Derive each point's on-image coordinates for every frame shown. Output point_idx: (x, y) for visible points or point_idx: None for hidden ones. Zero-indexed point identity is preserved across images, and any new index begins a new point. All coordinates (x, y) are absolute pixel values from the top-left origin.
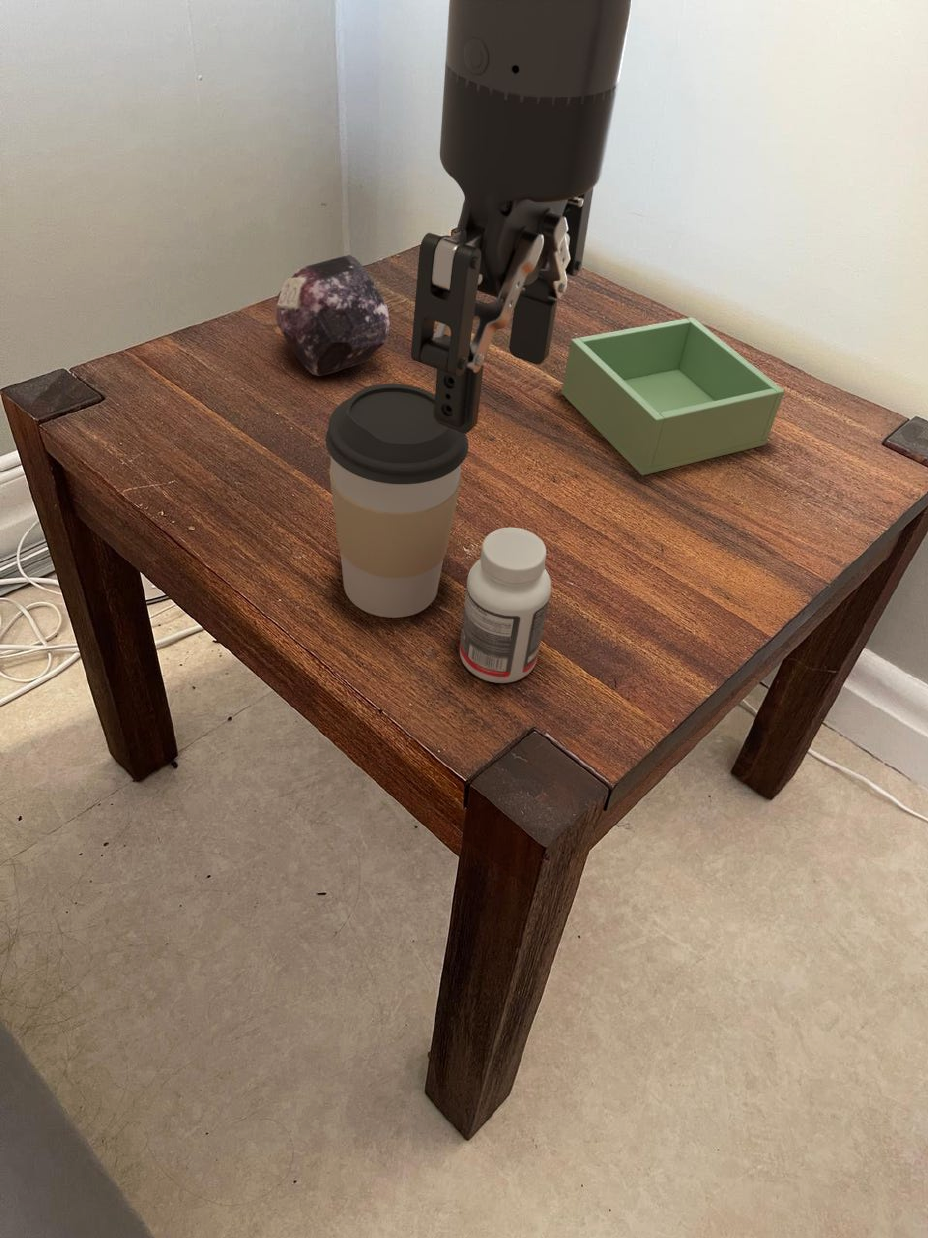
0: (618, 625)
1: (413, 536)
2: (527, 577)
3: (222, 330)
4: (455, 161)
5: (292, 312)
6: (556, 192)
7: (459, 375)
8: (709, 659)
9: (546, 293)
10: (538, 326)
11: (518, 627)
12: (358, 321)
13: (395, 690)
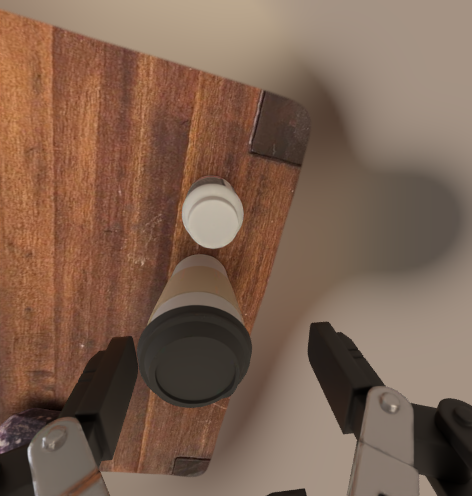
0: (133, 144)
1: (225, 288)
2: (228, 202)
3: None
4: None
5: None
6: None
7: (454, 399)
8: (116, 65)
9: (89, 440)
10: (116, 386)
11: (233, 190)
12: (27, 442)
13: (267, 233)
